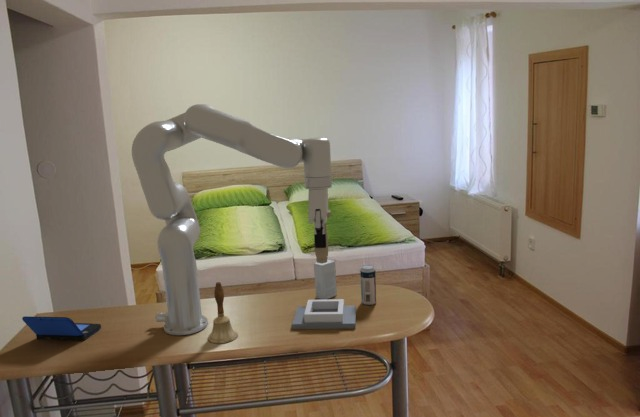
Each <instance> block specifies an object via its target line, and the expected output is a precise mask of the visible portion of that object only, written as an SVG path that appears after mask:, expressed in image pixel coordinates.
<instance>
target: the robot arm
mask: <svg viewBox="0 0 640 417" xmlns="http://www.w3.org/2000/svg"><path fill="white" fill-rule="evenodd" d="M201 138H202V139H204V140H206V141H207V140H208V141H211V142H214V143H216V144H219V145H222V146H224V147H227V148H230V149H233V150H235V151H238V152H240V153H242V154H245V155H248V156H250V157H253V158H254V159H257V160H260V161H262V162H265V163H268V164H271V165H275V166H276V167H280V168H283V169H292V168H294V167H297V166H298V165H299V164H302V163H303V173H304V188H305V189H306V190H308V193H307V194H308V198H307V199H308V200H307V201H308V202H307V203H308V212H309V213H308V224H310V225H312V224H313V223H314V226H313V227H314V228H315V234H313V236H314V240H315V247H314V249H315V248H326V234H325V228H324V224H325V223H326V224H327V223H328V222H327V221H328V218H329V217H328V218H327V212H328V210H329V190H328V189H331V188H332V187H333V185H332V162H331V160H332V159H331V142H330V140H329V139H328V138H326V137H309V138H296V137H295V138H294V137H287V138H284V137H281V136H278V135H275V134H273V133H270V132H267V131H265V130H263V129H260V128H259V127H257V126H256V125H254V124H253V123H251V122H250V121H248V120H246V119H243V118H241V117H237V116H235V115H232V114H230V113H226V112H224V111H220V110H218V109H216V108H214V107H213V106H212V105H209V104H205V103H203V104H201V103H198V104H194V105H191V106H189V108H187V110H185V112H183V113H181V114H179V115H176V116H174V117H171V118H169V119H166V120H159V121H153V122H151V123H148V124H147V125H145V126H143V128H141V129H140V130H139V132H137V133H136V135H135V137H134V139H133V141H132V144H131V145H132V146H131V157H132V161H133V164H134V168H135V171H136V174H137V175H138V178H139V183H140V186H141V189H142V192H143V195H144V198H145V200H146V204H147V207H148V209H149V212H150V213H151V214H152V216H153V217H154V218H156V219H158V220H161V221H165V224H166V225H165V226H164V227H162V229H161V230H160V232H159V234H158V236H157V242H156V243H157V249H158V254H159V258H160V262H161V268H162V276H163V282H164V291H165V298H166V307H167V311H166V312H156V313H155V320H156V323H161V322H162V323H163V322H164V325H163V329H164V332H165V333H166V334H168V335H171V336H188V335H192V334H196V333H198V332H201V331H202V330H204V329H206V328H207V326H208V324H209V320H208V318H207V316H205V315H203V314H202V305H201V293H200V285H199V278H198V277H199V274H198V268H197V267H198V266H197V259H196V257H195V253H194V252H195V251H194V246H195V244H196V242H197V241H198V240H199V237H200V234H201V226H200V222H199V220H198V217H197V213H196V211H195V208H194V205H193V202H192V199H191V196H190V194H189V192H188V190H187V189H186V187H185V186H183V185H182V184H181V183H179V182H176V181H174V179H173V176H172V173H171V170H170V168H169V164H168V163H167V161H166V159H165V154H166V153H167V152H170V151H172V150H176V149H179V148H181V147H184V146H185V145H187V144H189V143H192V142H195V141H197V140H200V139H201ZM322 219H323V220H322ZM321 221H323V223H321ZM321 225H322V226H321ZM314 240H313V241H314Z"/></svg>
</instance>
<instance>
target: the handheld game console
mask: <svg viewBox="0 0 640 417" xmlns="http://www.w3.org/2000/svg"><path fill="white" fill-rule="evenodd" d="M21 318H22V319H21V320H22V321H23V323H25V324H26V325H27V326H28V327H29V328H30V330H31V331H32V332H33V333H34V334H35V337H36V339H37V340H40V339H42V340H45V339H50V340H51V341H56V340H58V341H59V340H63V341H74V342H75V341H77V342H83V341H86V339H88V338H89V337H91V336H92V335H94V334H95V333H96V332H97V331H99V330H100V329H101V328H102V324H101V323H91V322H90V323H89V322H88V323H86V322H85V323H84V322H83V323H82V322H80V323H79V322H74V320H72V319H71V318H70V317H66V316H27V315H26V316H25V315H24V316H22V317H21ZM50 340H49V341H50Z"/></svg>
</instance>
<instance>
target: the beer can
mask: <svg viewBox="0 0 640 417" xmlns="http://www.w3.org/2000/svg"><path fill="white" fill-rule="evenodd" d="M359 271H360V293H361V294H360V295H361V298H360V300H361V304H363V305H365V306H373V305H375V304H376V303H377V284H376V283H377V282H376V281H377V278H376V268H375V266H374V265H372V264H366V265H365V264H364V265H361V267H360V269H359Z"/></svg>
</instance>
